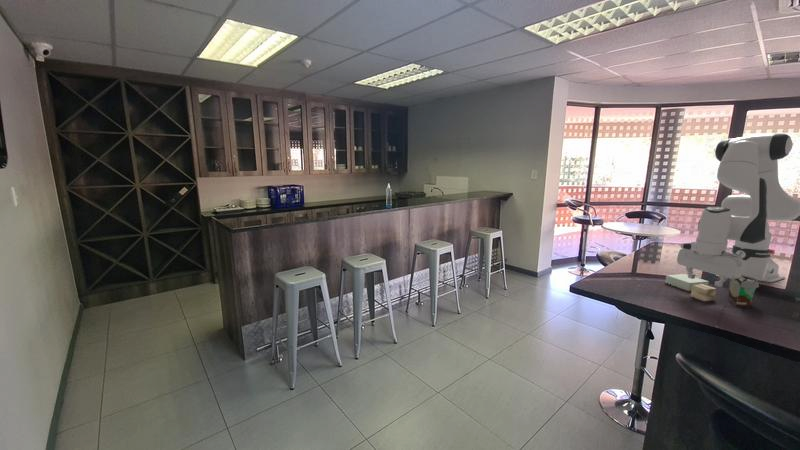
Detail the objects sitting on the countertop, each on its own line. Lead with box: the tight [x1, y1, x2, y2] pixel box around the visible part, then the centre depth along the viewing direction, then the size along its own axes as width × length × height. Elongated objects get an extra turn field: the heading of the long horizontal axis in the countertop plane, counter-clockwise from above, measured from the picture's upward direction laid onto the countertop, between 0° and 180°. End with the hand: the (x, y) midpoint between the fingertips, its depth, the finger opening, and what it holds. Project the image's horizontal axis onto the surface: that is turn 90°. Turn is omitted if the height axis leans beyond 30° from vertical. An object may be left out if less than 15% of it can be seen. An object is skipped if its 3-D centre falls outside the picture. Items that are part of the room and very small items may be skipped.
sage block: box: [665, 273, 710, 292], centre depth 140 cm, size 10×10×4 cm
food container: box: [727, 275, 760, 308], centre depth 122 cm, size 12×6×10 cm, turn 148°
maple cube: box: [690, 284, 717, 302], centre depth 127 cm, size 5×5×5 cm
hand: (704, 282), depth 126 cm, fingers open, 8 cm apart
